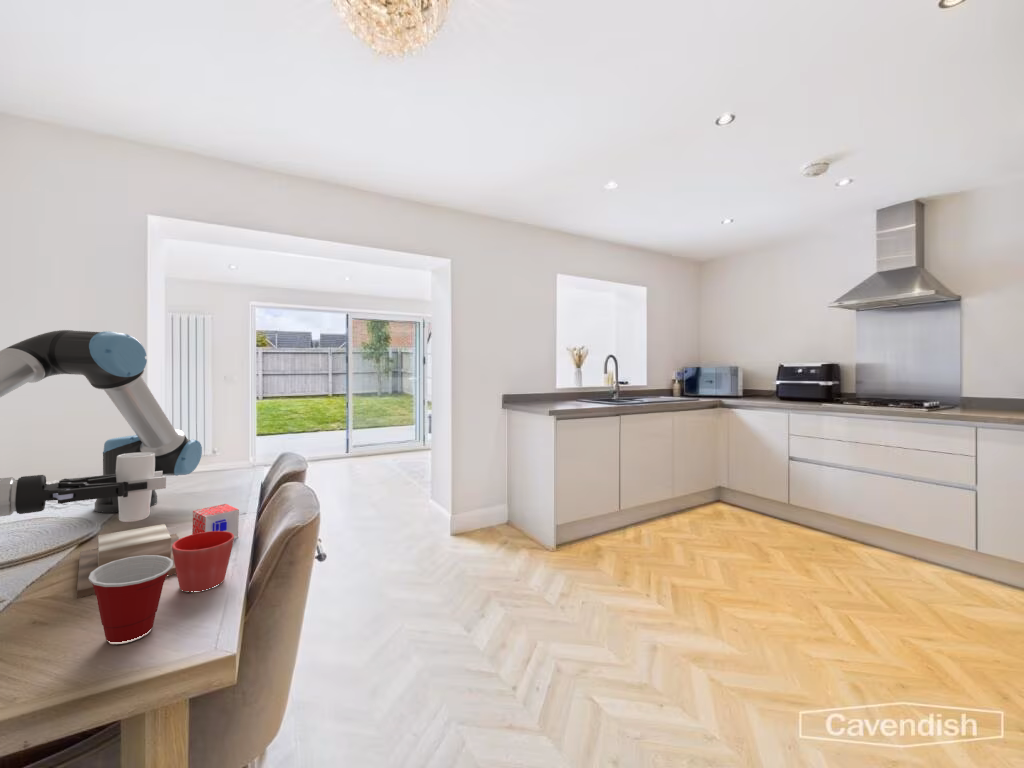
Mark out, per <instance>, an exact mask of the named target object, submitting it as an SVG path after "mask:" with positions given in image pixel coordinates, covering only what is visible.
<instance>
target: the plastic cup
mask: <svg viewBox="0 0 1024 768" xmlns="http://www.w3.org/2000/svg"><path fill="white" fill-rule="evenodd" d="M172 566H173V560H171V559H170V558H168V557H164V556H158V555H143V556H135V557H128V558H124V559H120V560H116V561H112V562H110V563H107V564H105V565H102V566H100V567H98V568H97V569H95V570H94V571H92V572H91V573H90V576H89V581H90V582H91V583H92V584H93V589H94V590H95V594H94V595H95V596H96V601H97V602H96V603H97V607H98V612H99V616H100V621H101V625H102V626H103V630H104V631H103V632H104V637H105V640H106V641H107V640H108V641H110V642H122V641H127V640H131V639H134V638H137V637H139V636H142V635H143V634H145V633H147V632H148V631H149V630H150V629H151V628H152V629H153V627H154V623H155V618H156V613H157V612H158V607H159V604H160V600H161V596H162V591H163V587H164V583H165V582H166V579H167V577H168V576H167V574H168V572H169V570H170V569H171V568H172Z"/></svg>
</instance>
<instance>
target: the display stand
mask: <svg viewBox="0 0 1024 768" xmlns="http://www.w3.org/2000/svg"><path fill="white" fill-rule="evenodd" d="M97 539H98V542H97V544H98V545H97V548H92V549H88V550H83V551H80V552H79V561H78V575H77V587H76V588H77V589H76V598H77V599H79V598H83V597H84V598H85V597H88V596H92V595H95V590H94V589H93V584H92V583H91V582H90V581H89V576H90V573H91V572H92V571H94V570H95V569H97V568H98V567H100V566H102V565H105V564H107V563H110V562H112V561H116V560H120V559H124V558H128V557H135V556H143V555H158V556H164V557H168V558H170V559H171V560H173V566H172V568H171V569H170V570H169V572H168V574H167V575H170V576H172V575H171V574H174V575H177V574H176V568H175V563H174V557H173V551H172V545H173V543H174V542H176V541H177V540H179V539H180V538H179V536H178V534H177V533H172V534H170V532H169V530H168V528H167V526H166V524H165V523H162V524H156V525H150V526H145V527H139V528H134V529H128V530H126V529H125V530H123V531H122V530H121V531H117V532H116V531H115V532H110V533H109V532H108V533H103V534H99V535H98V538H97ZM91 594H92V595H91ZM87 595H88V596H87Z"/></svg>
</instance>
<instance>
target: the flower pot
mask: <svg viewBox="0 0 1024 768" xmlns="http://www.w3.org/2000/svg"><path fill="white" fill-rule="evenodd" d="M234 541H235V538H234V535H233V534H232V533H231V532H226V531H209V532H202V533H197V534H193V535H192V534H188V535H186V536H184V537H181V538H179V540H177V541H176V542H174V543H173V545H172V551H173V557H174V563H175V568H176V574H175V575H176V578H177V582H178V586H179V590H180V589H181V590H183V591H189V592H191V591H193V592H194V591H202V590H206V589H209V588H212V587H214V586H216V585H218V584H220V583H221V582H222V581H223V580H224V581H225V579H226V573H227V572H228V570H227V569H228V567H229V562H230V557H231V554H232V549H233V545H234ZM224 581H223V582H224ZM223 582H222V583H223ZM222 583H221V584H222ZM221 584H220V585H221ZM181 590H180V591H181ZM183 591H182V592H183Z"/></svg>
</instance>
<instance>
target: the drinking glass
mask: <svg viewBox="0 0 1024 768" xmlns="http://www.w3.org/2000/svg"><path fill="white" fill-rule="evenodd" d="M154 473H155V453H150V452H139V453H128V454H121V455H118V456H117V460H116V482H128V480H136V479H146V478H154ZM151 495H152V490H149V491H140V492H132V493H128V497H123V496H121V497H119V496H118V506H119V512H118V520H119V521H120V522H124V523H125V522H126V523H128V522H129V523H130V522H137V521H141V520H145V519H146V518H148V517H150V513H151V506H150V502H151Z"/></svg>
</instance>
